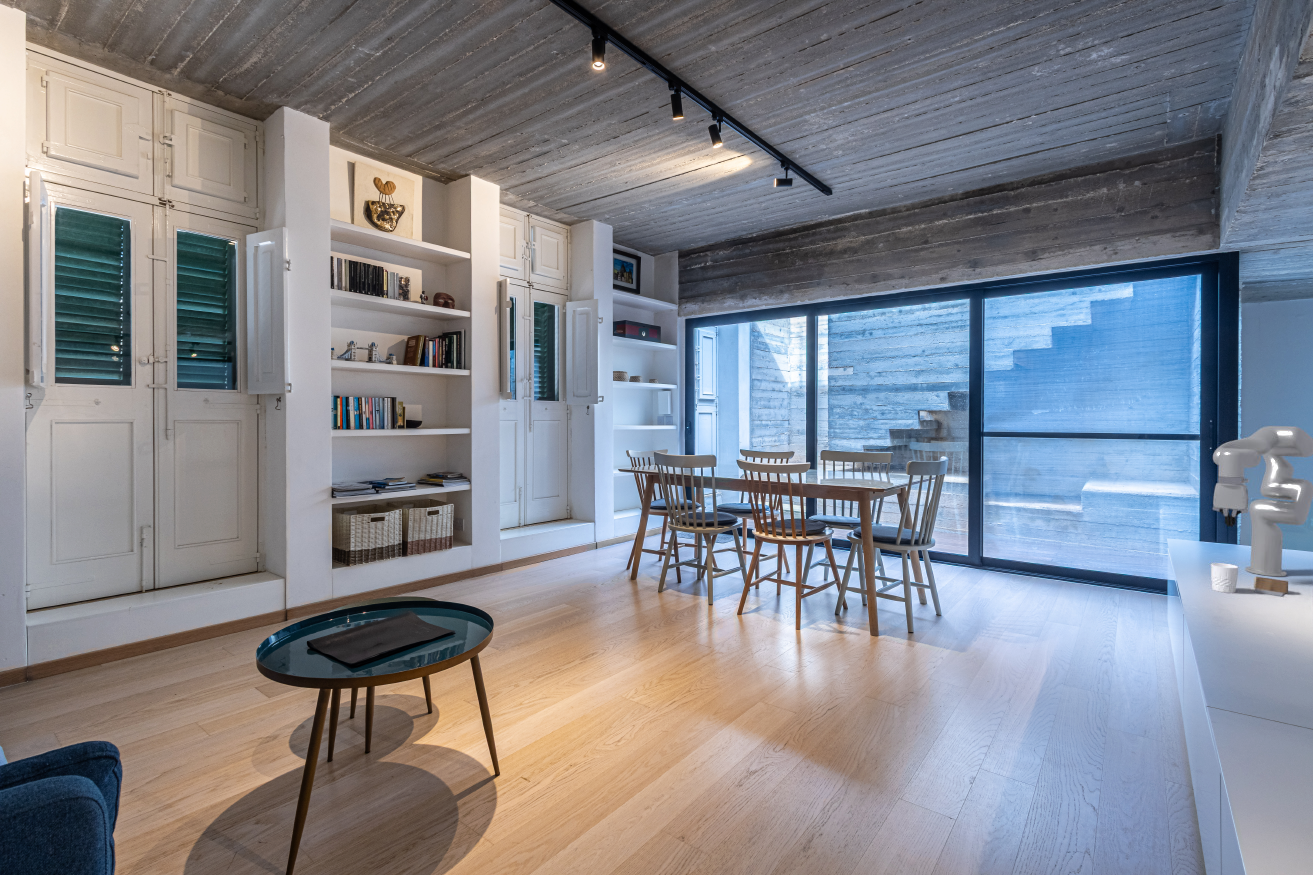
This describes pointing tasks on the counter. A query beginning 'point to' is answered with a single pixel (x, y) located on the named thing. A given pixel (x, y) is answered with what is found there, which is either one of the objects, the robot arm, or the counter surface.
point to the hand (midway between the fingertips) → (1230, 525)
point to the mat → (1269, 592)
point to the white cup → (1224, 577)
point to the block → (1271, 584)
